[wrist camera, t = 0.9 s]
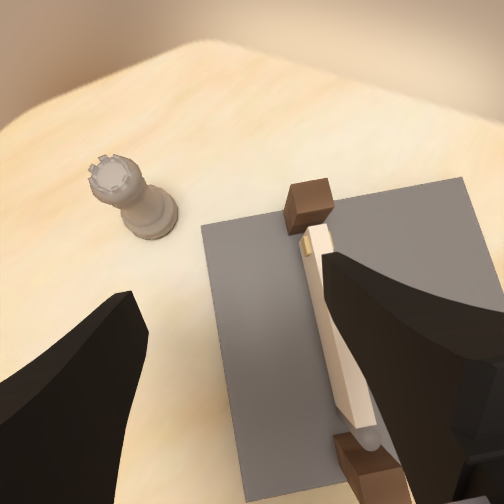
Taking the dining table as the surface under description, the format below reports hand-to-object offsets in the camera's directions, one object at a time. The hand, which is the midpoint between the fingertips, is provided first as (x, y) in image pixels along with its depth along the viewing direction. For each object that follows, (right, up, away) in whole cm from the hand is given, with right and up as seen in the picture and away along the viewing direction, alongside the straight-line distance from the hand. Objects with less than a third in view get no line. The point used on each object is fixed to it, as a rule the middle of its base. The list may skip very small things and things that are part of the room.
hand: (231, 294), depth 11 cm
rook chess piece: (-8, +5, +15) cm, 17 cm away
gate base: (+9, -4, +12) cm, 16 cm away
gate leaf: (+6, -4, +11) cm, 13 cm away
